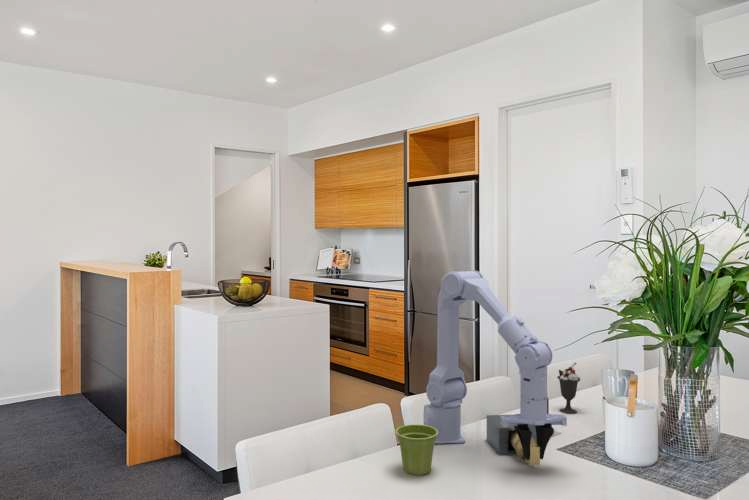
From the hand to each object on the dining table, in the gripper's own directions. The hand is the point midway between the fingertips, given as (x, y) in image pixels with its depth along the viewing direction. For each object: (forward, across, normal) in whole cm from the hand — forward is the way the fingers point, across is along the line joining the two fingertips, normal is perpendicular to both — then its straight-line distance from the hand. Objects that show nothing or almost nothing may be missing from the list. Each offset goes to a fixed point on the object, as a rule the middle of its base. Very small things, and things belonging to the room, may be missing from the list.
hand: (533, 457), depth 121 cm
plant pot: (+3, -26, +2) cm, 26 cm away
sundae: (+3, +27, +41) cm, 49 cm away
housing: (+3, 0, +14) cm, 14 cm away
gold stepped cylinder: (+2, 0, +6) cm, 6 cm away
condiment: (+3, +11, +24) cm, 26 cm away
